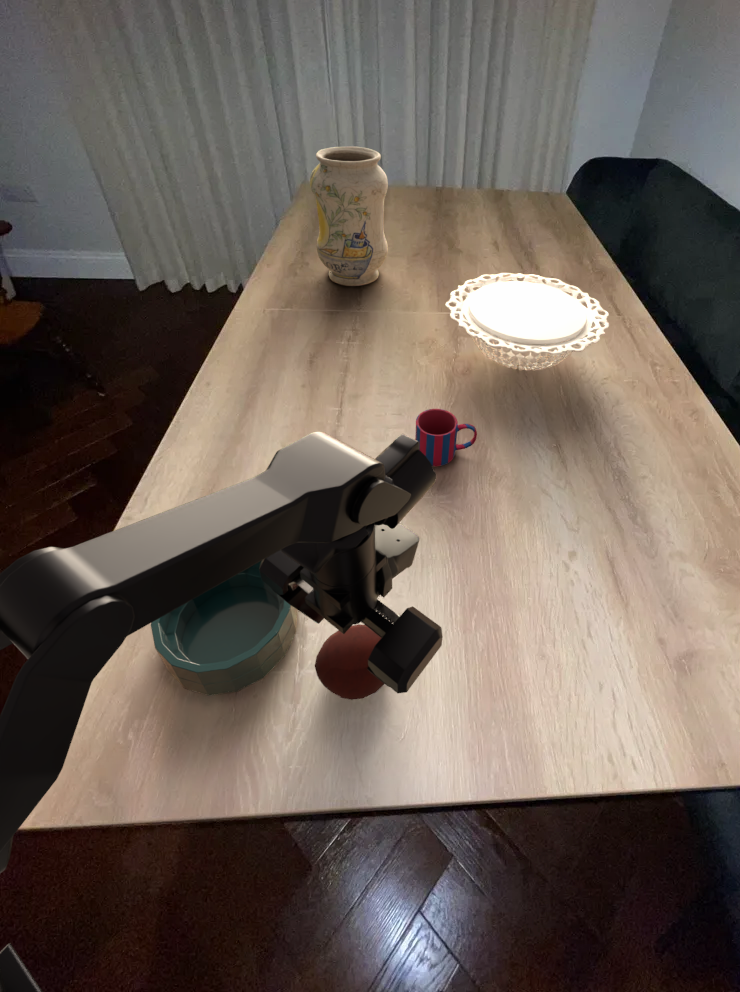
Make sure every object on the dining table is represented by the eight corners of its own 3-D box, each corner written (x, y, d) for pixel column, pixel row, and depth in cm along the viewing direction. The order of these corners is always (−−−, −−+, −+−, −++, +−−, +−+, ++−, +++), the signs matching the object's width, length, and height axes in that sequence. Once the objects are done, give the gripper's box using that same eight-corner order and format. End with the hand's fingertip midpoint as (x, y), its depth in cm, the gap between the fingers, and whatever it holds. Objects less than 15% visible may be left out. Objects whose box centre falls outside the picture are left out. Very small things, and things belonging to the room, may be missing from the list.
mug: (418, 436, 91) (419, 406, 87) (475, 442, 91) (479, 413, 87) (412, 464, 86) (412, 433, 82) (473, 471, 86) (477, 440, 81)
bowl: (219, 726, 55) (206, 702, 51) (140, 642, 61) (124, 615, 58) (322, 620, 65) (318, 593, 61) (245, 556, 71) (237, 528, 67)
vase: (323, 259, 144) (312, 140, 126) (389, 261, 146) (388, 144, 127) (314, 290, 130) (300, 162, 112) (387, 292, 132) (386, 166, 113)
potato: (318, 648, 62) (312, 617, 58) (390, 638, 63) (389, 607, 59) (317, 716, 56) (310, 688, 52) (396, 703, 58) (396, 674, 53)
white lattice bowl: (413, 348, 113) (414, 295, 105) (518, 309, 129) (526, 260, 121) (518, 432, 94) (529, 374, 86) (626, 373, 110) (643, 320, 102)
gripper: (483, 551, 47) (468, 638, 57) (333, 456, 55) (342, 547, 65) (403, 651, 40) (402, 731, 49) (243, 525, 48) (269, 615, 57)
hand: (352, 644), depth 55 cm, fingers open, 9 cm apart
